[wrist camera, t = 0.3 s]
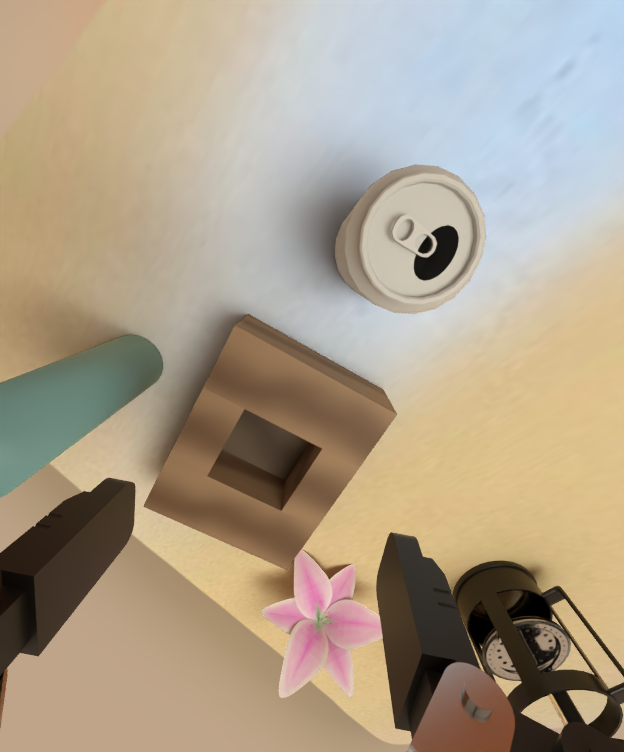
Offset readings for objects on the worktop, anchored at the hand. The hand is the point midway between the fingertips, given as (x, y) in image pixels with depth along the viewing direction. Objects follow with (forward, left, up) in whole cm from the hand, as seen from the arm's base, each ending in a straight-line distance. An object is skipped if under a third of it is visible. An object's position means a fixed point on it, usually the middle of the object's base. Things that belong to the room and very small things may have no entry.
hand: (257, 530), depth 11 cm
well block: (+8, +2, -21) cm, 23 cm away
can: (-11, +2, -22) cm, 25 cm away
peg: (+8, -12, -21) cm, 26 cm away
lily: (+22, +16, -22) cm, 34 cm away
